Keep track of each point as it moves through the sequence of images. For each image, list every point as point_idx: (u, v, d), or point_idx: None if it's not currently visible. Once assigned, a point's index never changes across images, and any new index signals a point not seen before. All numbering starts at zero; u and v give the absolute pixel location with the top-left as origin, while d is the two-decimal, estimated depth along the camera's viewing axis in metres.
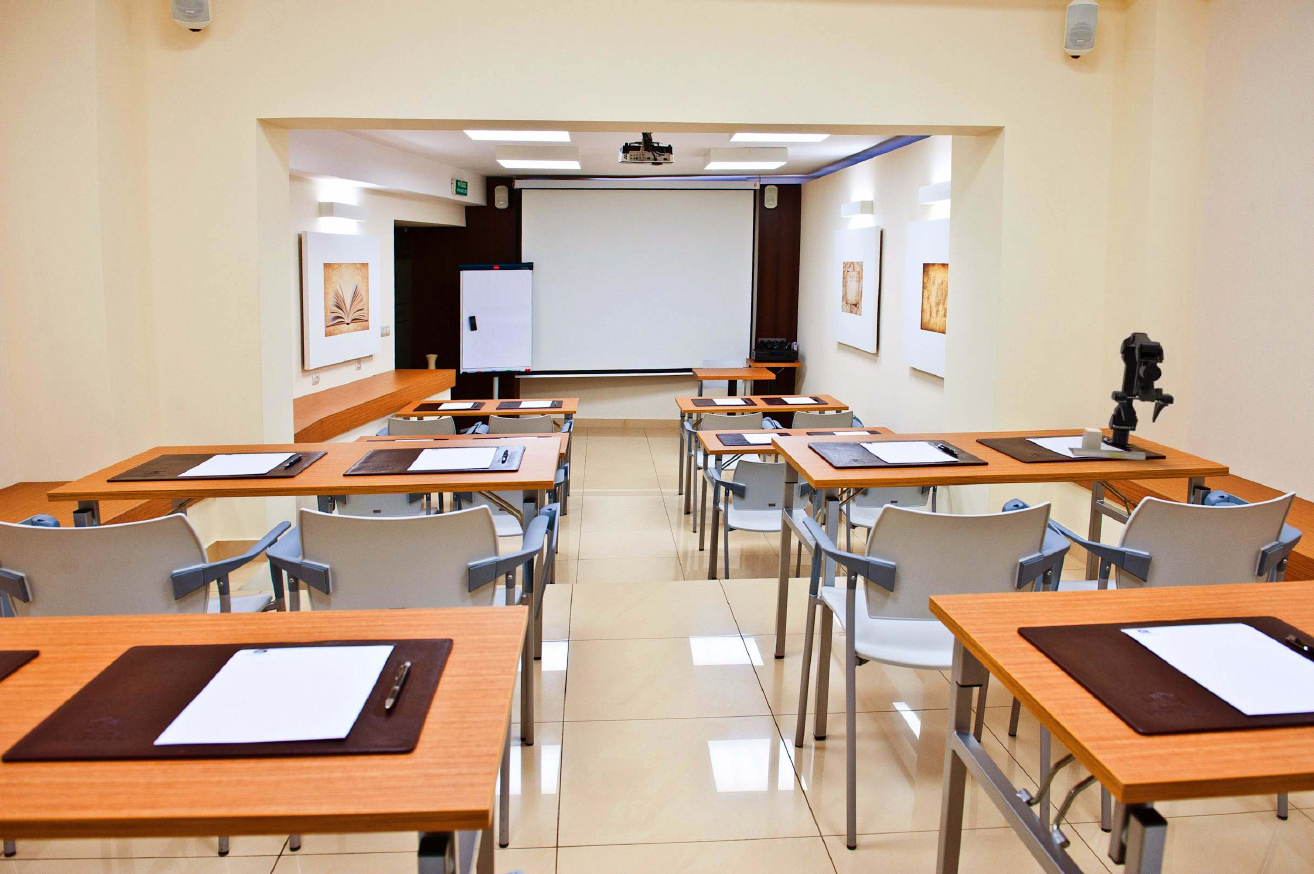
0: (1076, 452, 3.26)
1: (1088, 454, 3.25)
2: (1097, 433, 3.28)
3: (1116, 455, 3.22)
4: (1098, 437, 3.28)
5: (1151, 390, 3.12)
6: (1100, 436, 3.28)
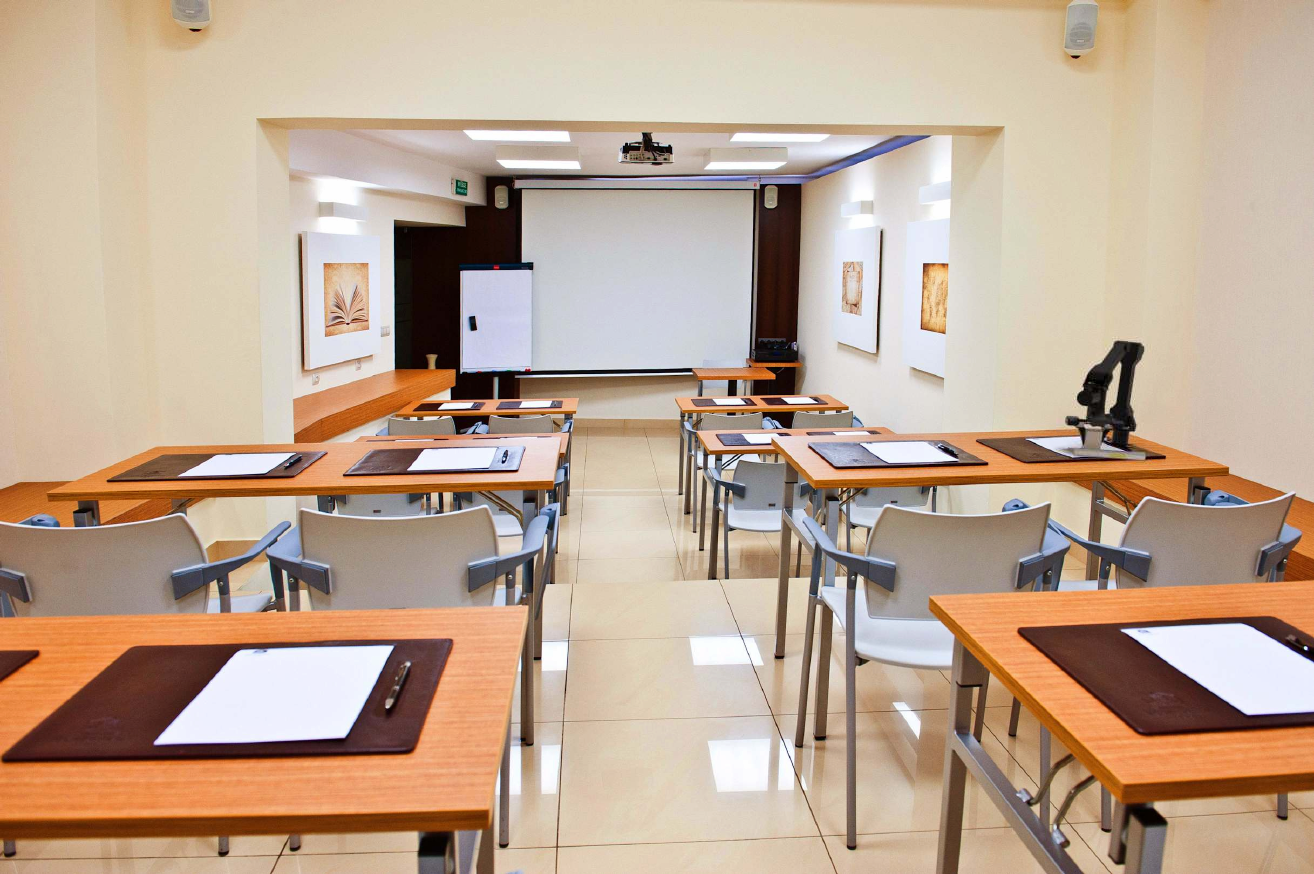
0: (1076, 452, 3.26)
1: (1088, 454, 3.25)
2: (1097, 433, 3.28)
3: (1116, 455, 3.22)
4: (1098, 437, 3.28)
5: (1101, 416, 3.24)
6: (1100, 436, 3.28)
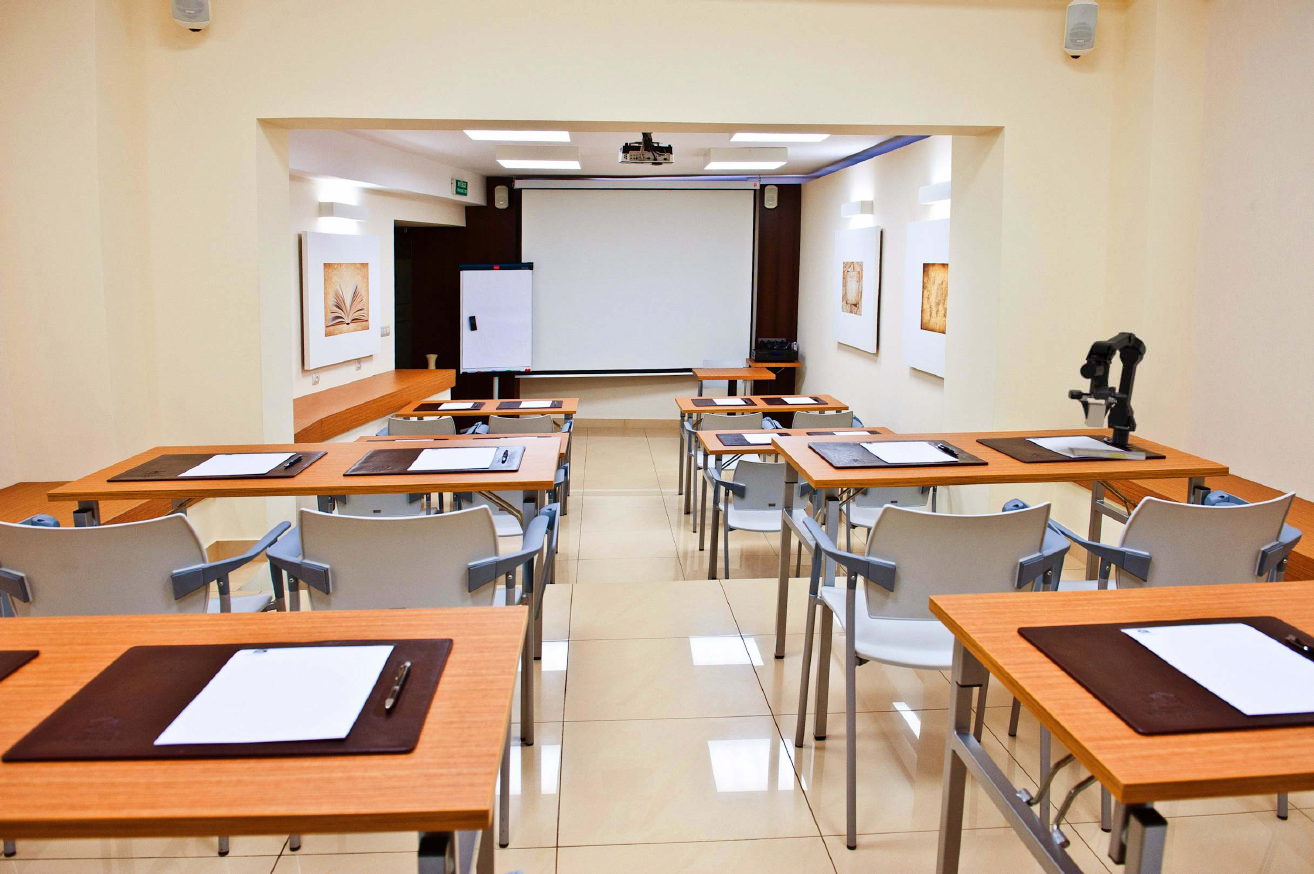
0: (1076, 452, 3.26)
1: (1088, 454, 3.25)
2: (1100, 407, 3.26)
3: (1116, 455, 3.22)
4: (1101, 411, 3.26)
5: (1105, 389, 3.22)
6: (1103, 410, 3.26)
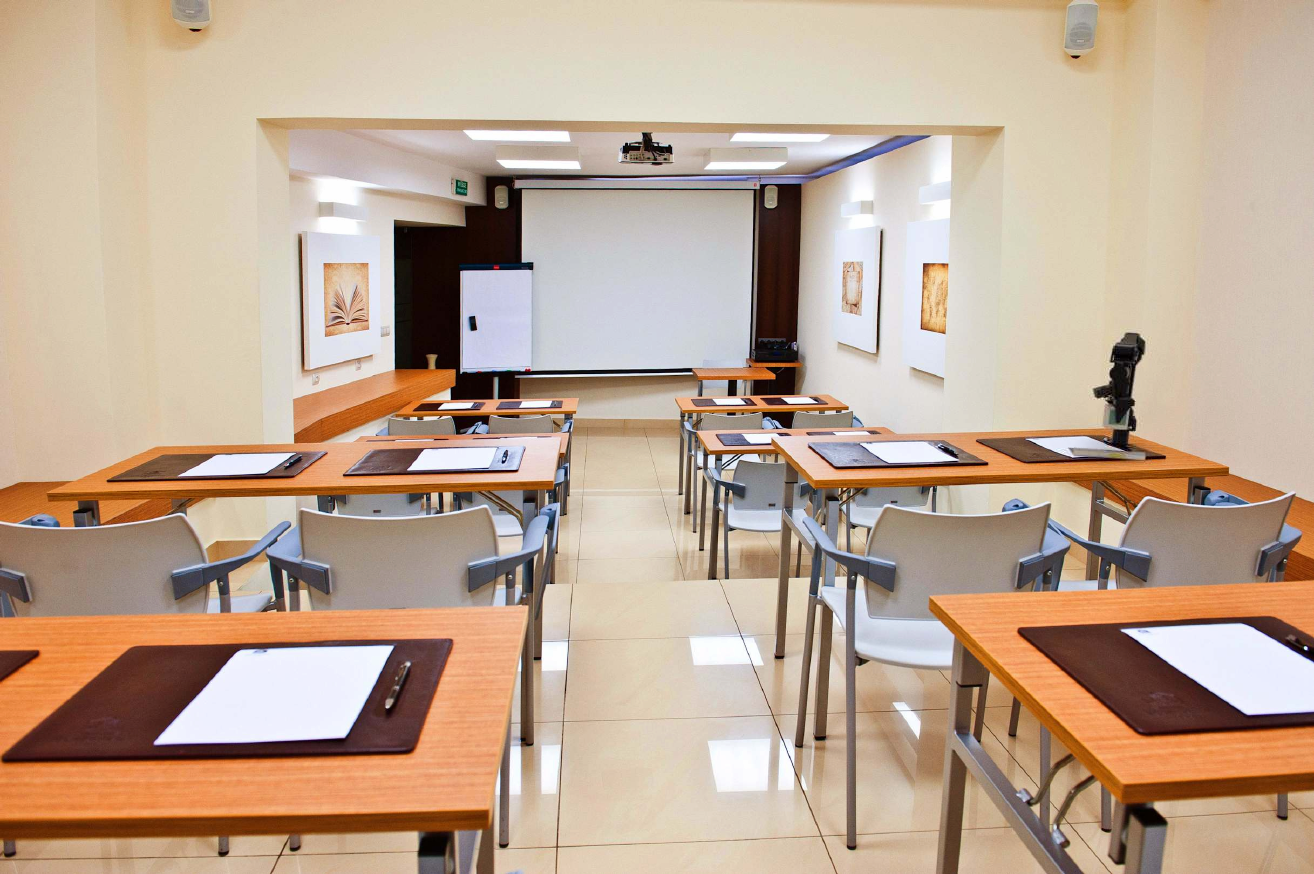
0: (1076, 452, 3.26)
1: (1088, 454, 3.25)
2: (1107, 407, 3.25)
3: (1116, 455, 3.22)
4: (1107, 411, 3.25)
5: None
6: (1107, 410, 3.25)
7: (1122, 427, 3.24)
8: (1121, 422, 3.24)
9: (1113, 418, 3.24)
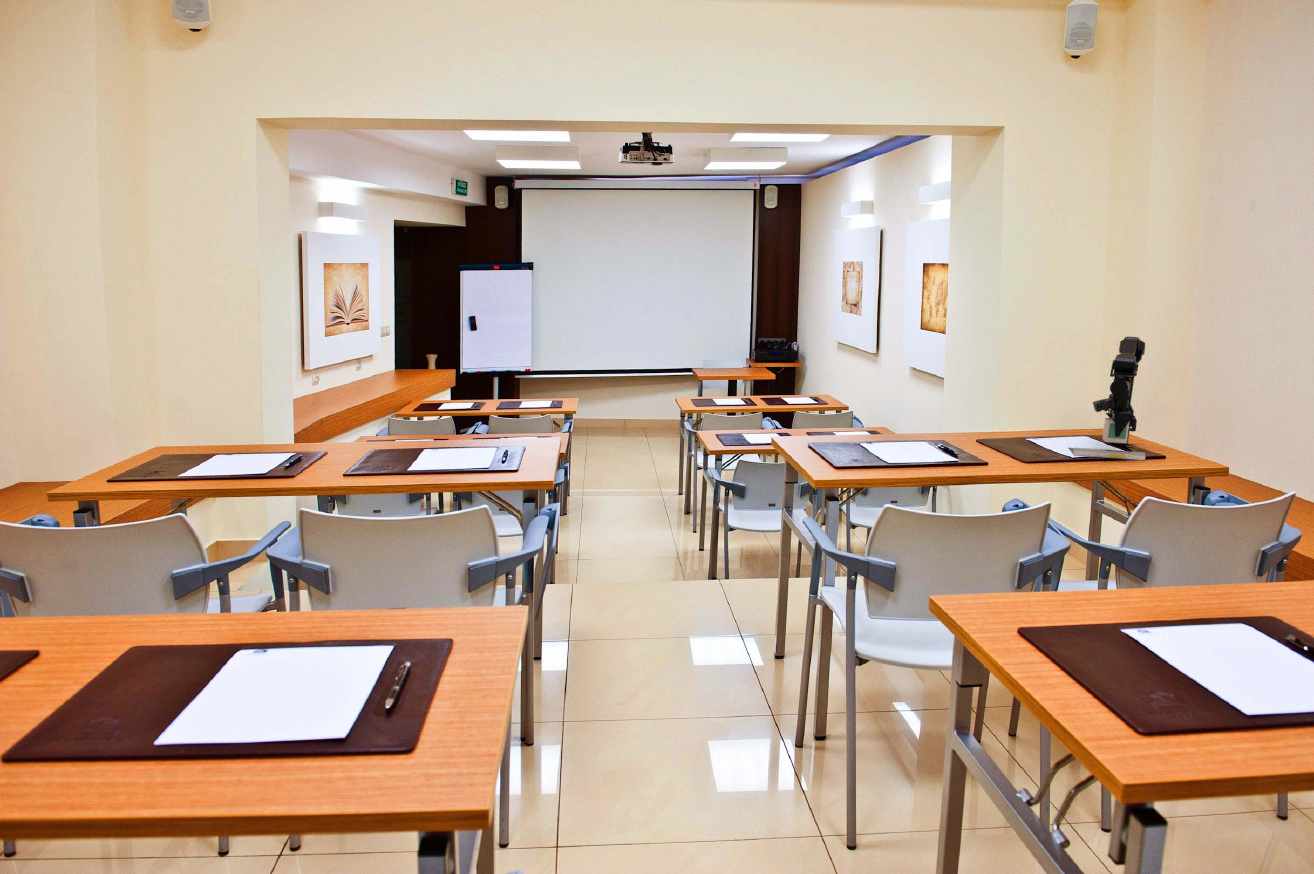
0: (1076, 452, 3.26)
1: (1088, 454, 3.25)
2: (1106, 420, 3.26)
3: (1116, 455, 3.22)
4: (1106, 425, 3.26)
5: None
6: (1107, 424, 3.26)
7: (1122, 441, 3.25)
8: (1121, 436, 3.25)
9: (1113, 432, 3.25)
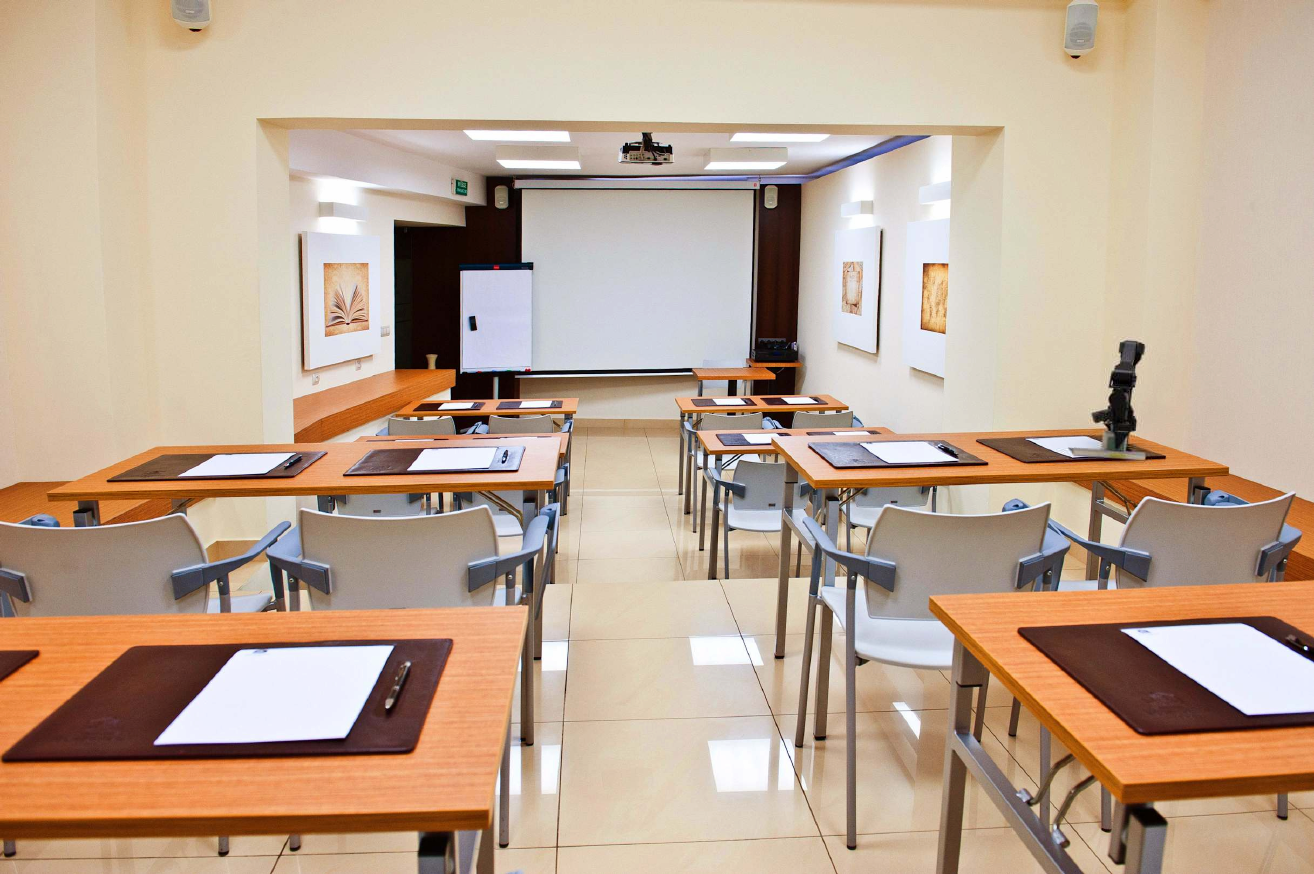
0: (1076, 452, 3.26)
1: (1088, 454, 3.25)
2: (1105, 433, 3.27)
3: (1116, 455, 3.22)
4: (1105, 438, 3.27)
5: None
6: (1105, 437, 3.27)
7: None
8: (1119, 449, 3.26)
9: (1111, 445, 3.26)
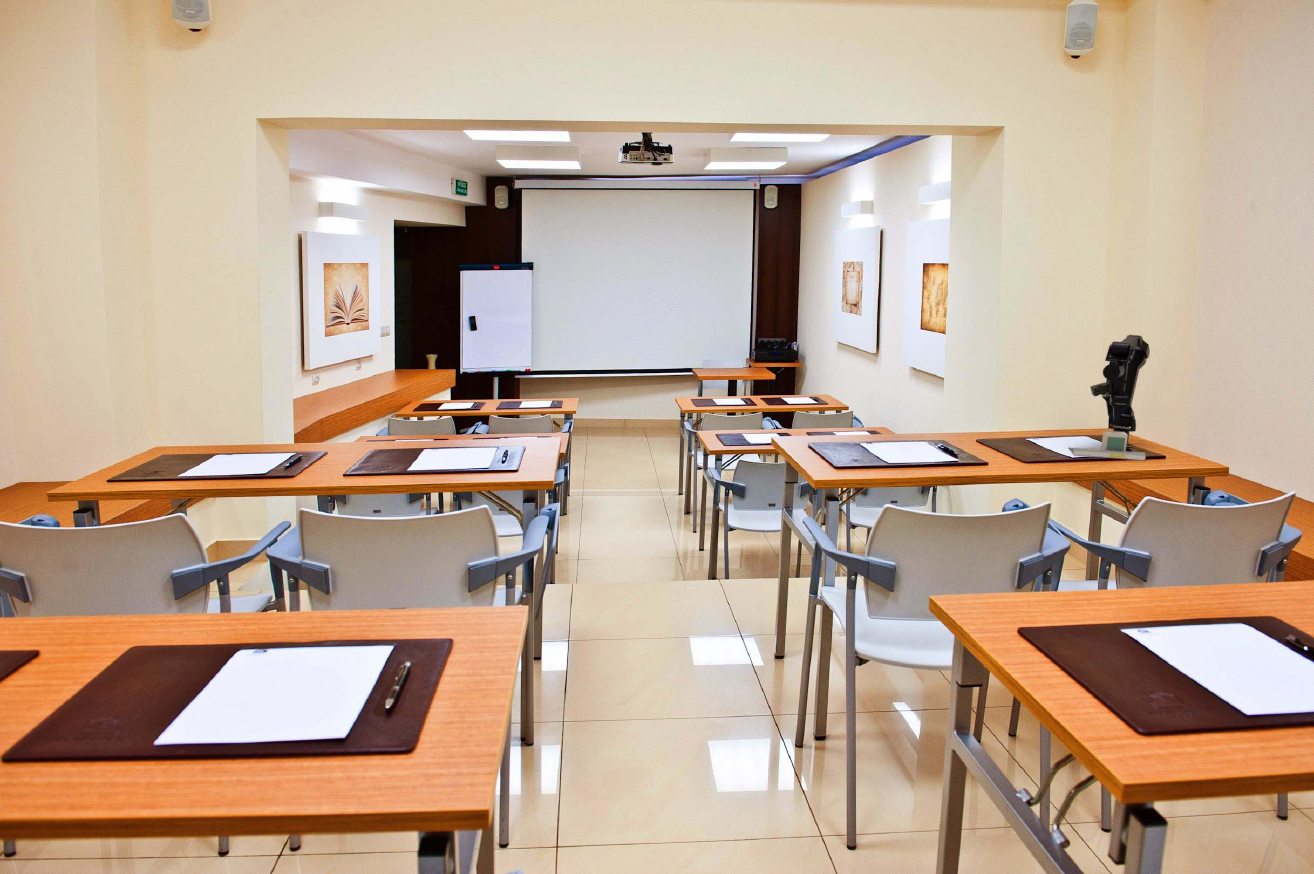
0: (1076, 452, 3.26)
1: (1088, 454, 3.25)
2: (1105, 433, 3.27)
3: (1116, 455, 3.22)
4: (1105, 438, 3.27)
5: None
6: (1105, 437, 3.27)
7: None
8: (1119, 449, 3.26)
9: (1111, 445, 3.26)
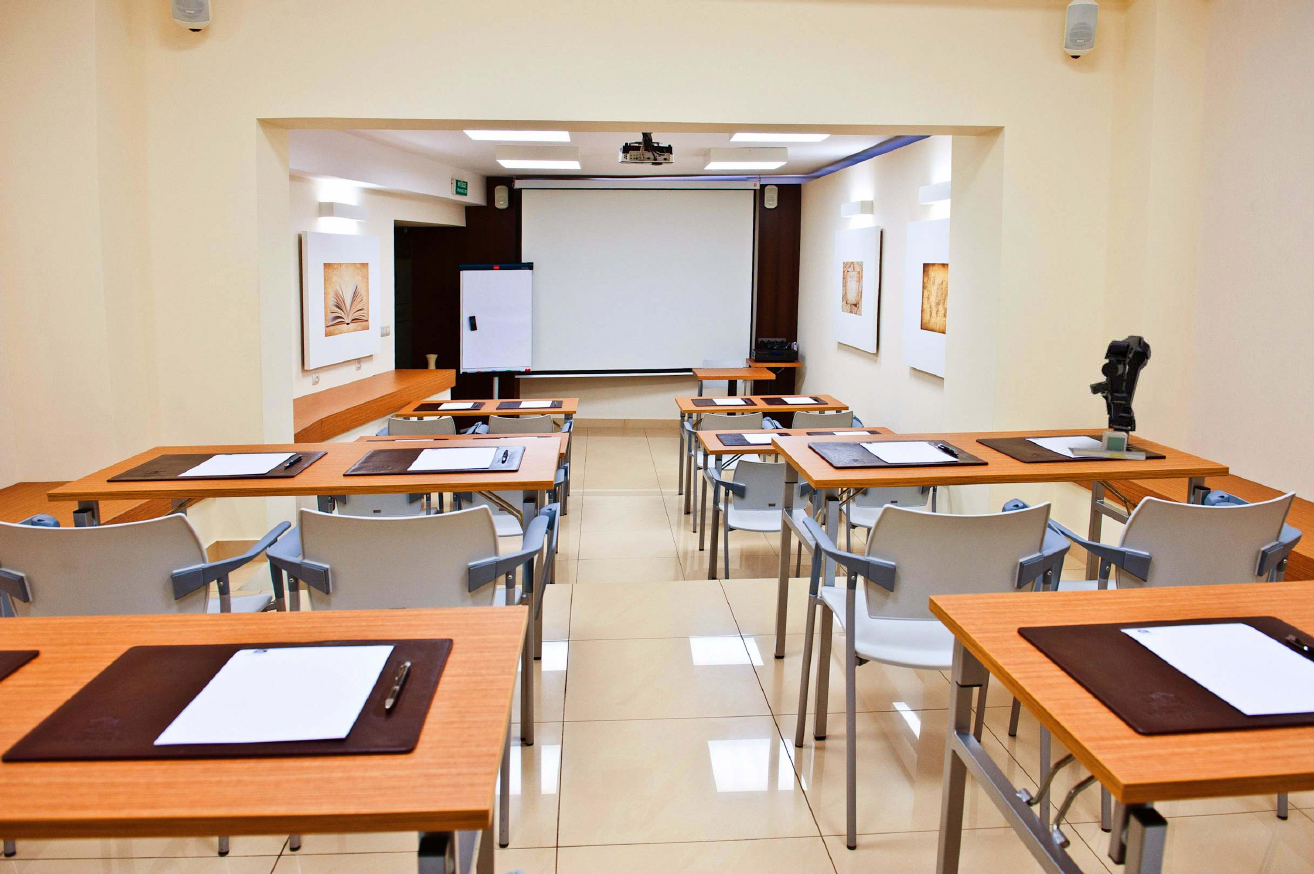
0: (1076, 452, 3.26)
1: (1088, 454, 3.25)
2: (1105, 433, 3.27)
3: (1116, 455, 3.22)
4: (1105, 438, 3.27)
5: None
6: (1105, 437, 3.27)
7: None
8: (1119, 449, 3.26)
9: (1111, 445, 3.26)
